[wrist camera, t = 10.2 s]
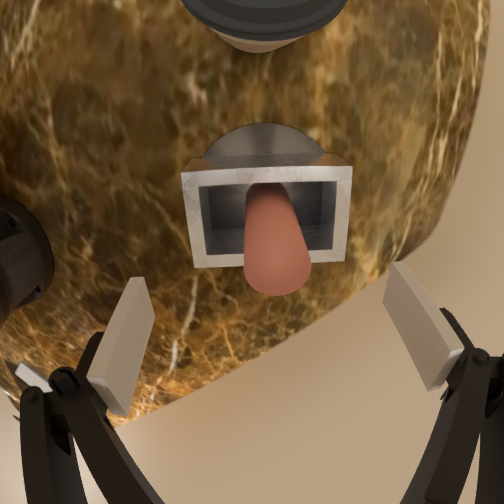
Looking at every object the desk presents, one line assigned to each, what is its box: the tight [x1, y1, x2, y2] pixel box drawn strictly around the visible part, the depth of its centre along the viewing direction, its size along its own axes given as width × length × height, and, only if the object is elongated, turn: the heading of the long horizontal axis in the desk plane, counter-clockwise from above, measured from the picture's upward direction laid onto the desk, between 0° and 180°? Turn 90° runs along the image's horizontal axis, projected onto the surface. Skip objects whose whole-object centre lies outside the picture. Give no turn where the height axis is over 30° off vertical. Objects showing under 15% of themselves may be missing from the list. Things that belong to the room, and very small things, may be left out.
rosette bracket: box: [181, 123, 353, 268], centre depth 26 cm, size 14×14×6 cm
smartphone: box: [15, 361, 52, 392], centre depth 48 cm, size 8×1×15 cm
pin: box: [244, 182, 312, 296], centre depth 23 cm, size 4×4×12 cm
